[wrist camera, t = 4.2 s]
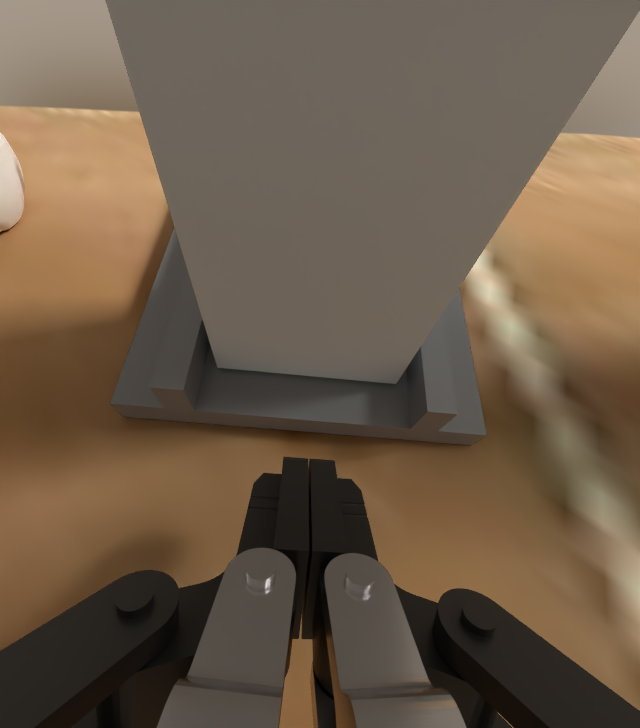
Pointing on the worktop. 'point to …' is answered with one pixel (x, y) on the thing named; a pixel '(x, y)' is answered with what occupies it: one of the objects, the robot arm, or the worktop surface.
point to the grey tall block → (348, 156)
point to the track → (292, 379)
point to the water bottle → (10, 186)
